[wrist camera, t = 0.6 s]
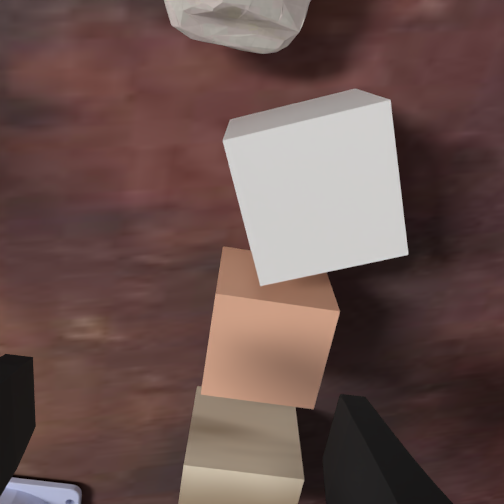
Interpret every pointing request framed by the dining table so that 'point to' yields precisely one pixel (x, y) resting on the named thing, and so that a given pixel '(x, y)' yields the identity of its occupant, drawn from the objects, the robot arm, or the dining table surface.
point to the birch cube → (241, 453)
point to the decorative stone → (240, 22)
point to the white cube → (318, 185)
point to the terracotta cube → (268, 335)
